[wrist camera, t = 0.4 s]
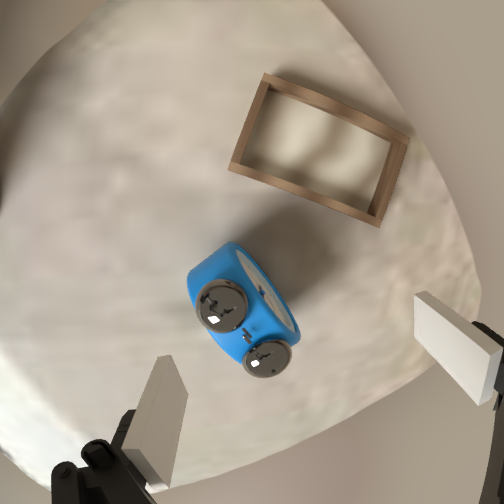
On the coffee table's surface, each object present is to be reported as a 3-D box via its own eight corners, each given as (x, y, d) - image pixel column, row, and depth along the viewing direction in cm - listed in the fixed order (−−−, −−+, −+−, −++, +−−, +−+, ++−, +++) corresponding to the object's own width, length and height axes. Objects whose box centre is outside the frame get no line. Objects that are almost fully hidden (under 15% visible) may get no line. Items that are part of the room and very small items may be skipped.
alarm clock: (292, 307, 41) (316, 371, 27) (255, 332, 42) (262, 404, 28) (231, 230, 39) (226, 263, 24) (193, 259, 39) (168, 307, 25)
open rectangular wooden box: (228, 170, 37) (227, 169, 33) (262, 82, 34) (264, 72, 31) (367, 223, 39) (379, 228, 35) (396, 140, 36) (409, 138, 33)
